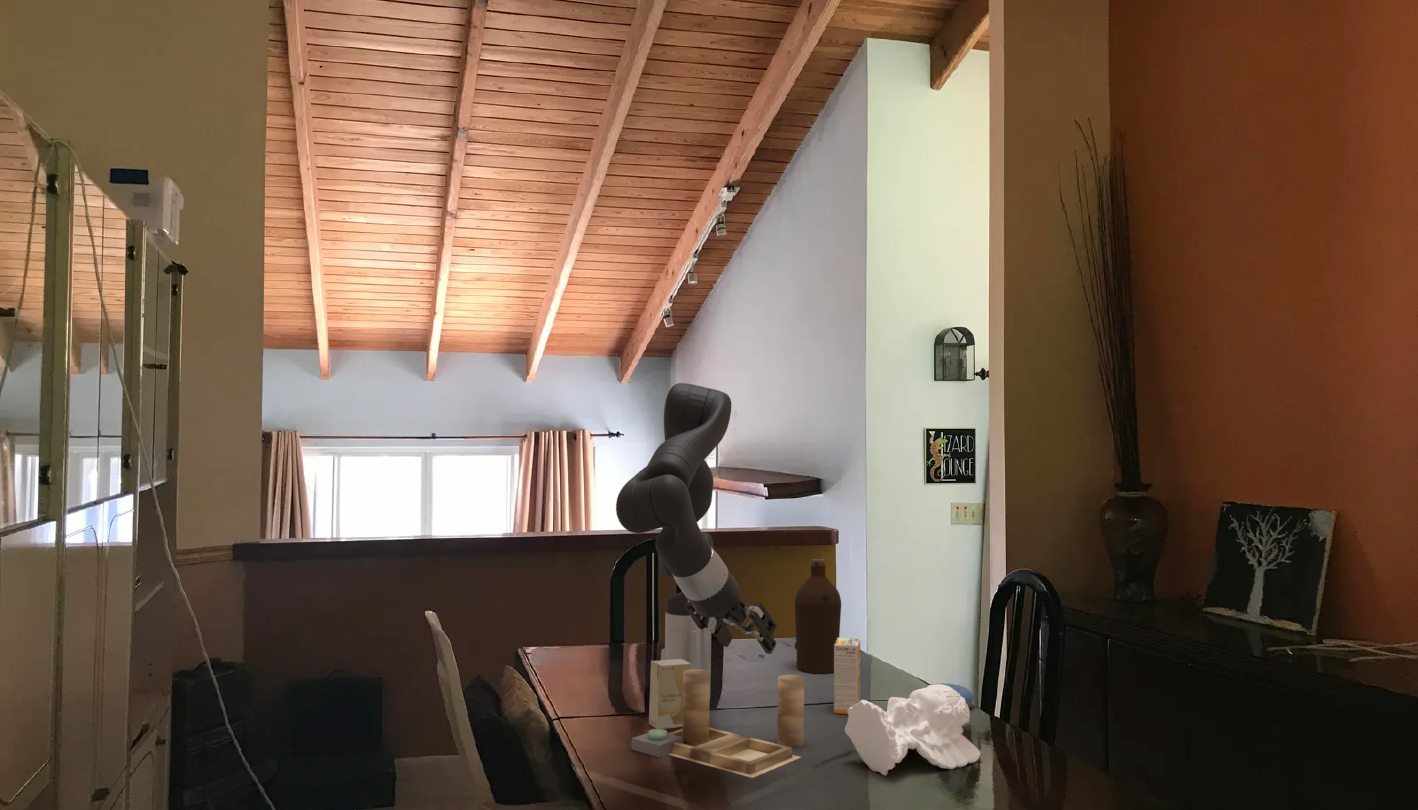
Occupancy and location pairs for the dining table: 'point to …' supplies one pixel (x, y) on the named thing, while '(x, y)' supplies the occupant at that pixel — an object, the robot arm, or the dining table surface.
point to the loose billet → (790, 711)
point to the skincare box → (667, 693)
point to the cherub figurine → (913, 729)
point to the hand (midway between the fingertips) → (749, 645)
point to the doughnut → (961, 692)
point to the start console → (655, 742)
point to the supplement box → (846, 674)
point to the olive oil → (817, 621)
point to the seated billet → (696, 706)
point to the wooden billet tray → (735, 753)
